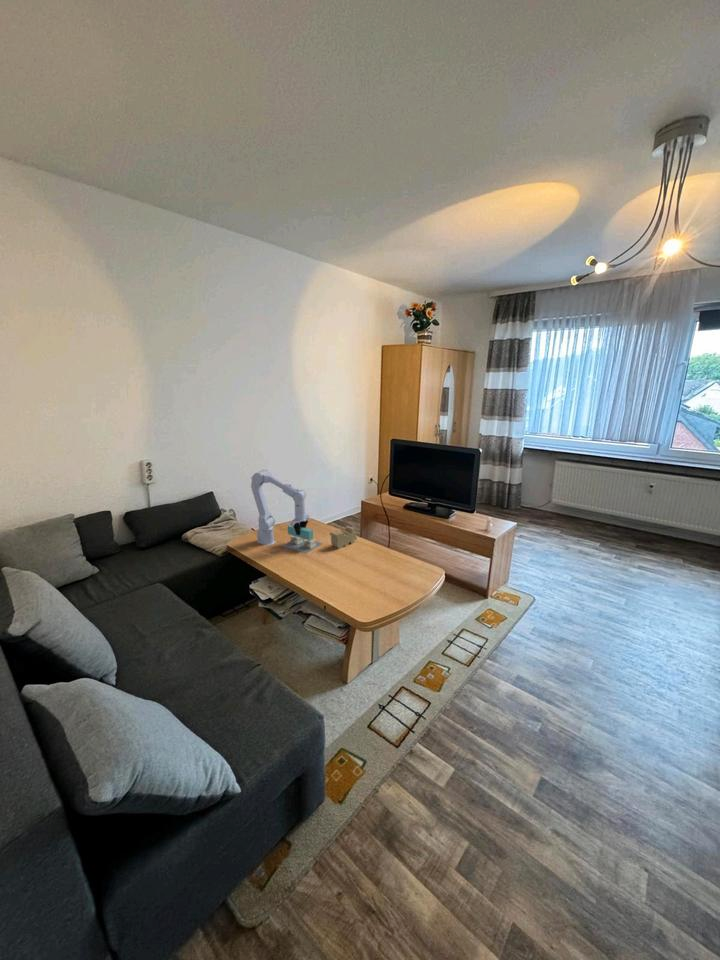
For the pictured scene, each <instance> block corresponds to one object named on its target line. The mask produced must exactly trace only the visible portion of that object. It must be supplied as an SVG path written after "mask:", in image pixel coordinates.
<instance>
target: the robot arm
mask: <svg viewBox="0 0 720 960" xmlns="http://www.w3.org/2000/svg"><path fill="white" fill-rule="evenodd" d="M250 479H251V484H250V488H251V491H252V495H253V498H254V501H255V504H256V508H257V511H258V513H259V514H258V515H259V517H258V520H257V521H258V529H257V531H256V537H257V539H256V540H257V541H256V543H257V544H261V545H265V546H268V547H269V546H271V545H273V544H274V543H276V542H278V541H277V540H276V539H274V537H275V536H274V535H275V534H274V525H275V524H276V523H275V522H276V520H275V518H274V517H273V515H272V513H271V512H269V509H268V505H267V502H266V498H265V495H264V492H263V489H262V487H263V485H264V484H267V483H270V484H272V485H274V486H276V487H278V488H280V489H281V490H282V492H283V493H285V495H287V496H289V497H290V498H292V500H293V502H294V519H292V521H290V522H289V523H290V524H289V525H292V526H293V527H294V529H295V531H296V534H297V535H300V528H301V527H304V528H307V525H308V523H309V519H310V515H308V514H306V508H305V507H306V506H305V505H306V503H305V501H306V497H307V493H306V492H305V490H303V489H299V488H297V487H295V486H293V484H292V483H285V482H283V481H282V480H280V479H279V478H278V477H276V476H275V475H273V473H272V472H271V471H268V470H267V469H261V470H259V471H258V472H255V473H254V474H253V475H252V476H251V478H250Z"/></svg>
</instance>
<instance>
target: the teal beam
mask: <svg viewBox="0 0 720 960" xmlns="http://www.w3.org/2000/svg"><path fill="white" fill-rule="evenodd" d="M287 535H290V536H297V537H300V538H304V539H307V540H310V539H312V538H313V539H314V529H310V528H307V527H306V528H304V527H301V528H300V535H297V534H296V531H295V529H294V527H293V526H292V525H290V524H289V525H288V526H287Z"/></svg>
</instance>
